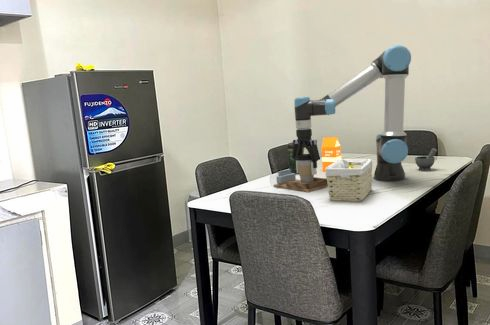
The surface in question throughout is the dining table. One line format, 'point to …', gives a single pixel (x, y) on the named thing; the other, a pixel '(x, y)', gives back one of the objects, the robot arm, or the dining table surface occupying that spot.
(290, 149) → the coffee jar
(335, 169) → the storage basket
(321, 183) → the housing base
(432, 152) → the mortar and pestle
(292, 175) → the block
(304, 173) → the coffee cup
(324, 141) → the orange juice
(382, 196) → the dining table surface
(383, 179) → the robot arm
